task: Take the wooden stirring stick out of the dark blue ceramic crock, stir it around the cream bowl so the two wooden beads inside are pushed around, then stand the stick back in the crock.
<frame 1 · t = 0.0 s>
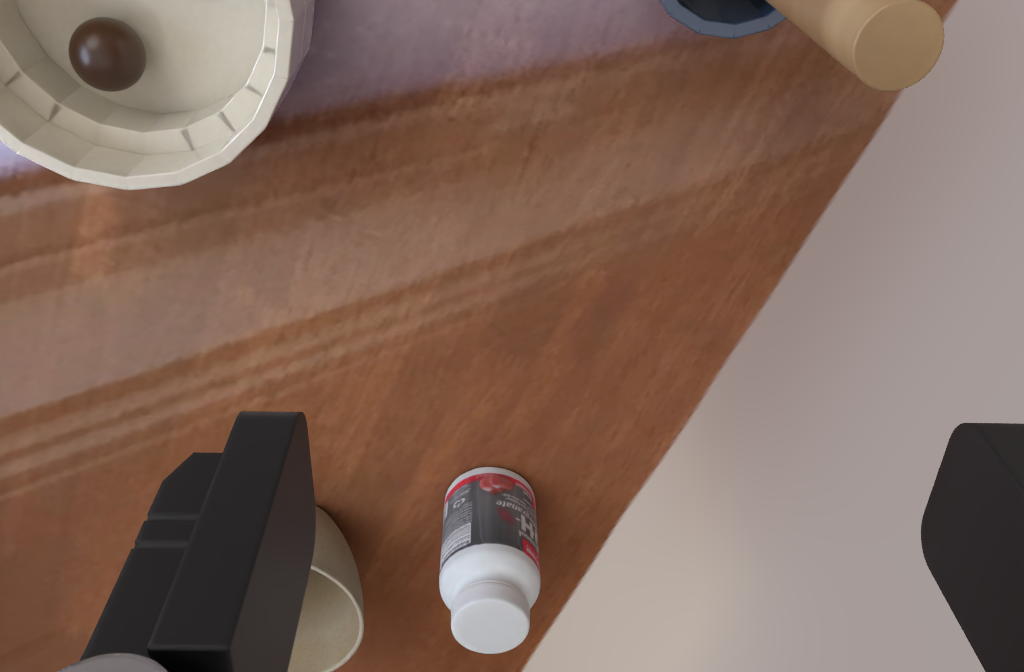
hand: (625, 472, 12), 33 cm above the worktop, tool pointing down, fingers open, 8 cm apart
beige cup: (294, 528, 56), on the worktop
pill bottle: (489, 496, 55), on the worktop
bead a: (120, 45, 40), point 1 cm above the worktop, touching bowl
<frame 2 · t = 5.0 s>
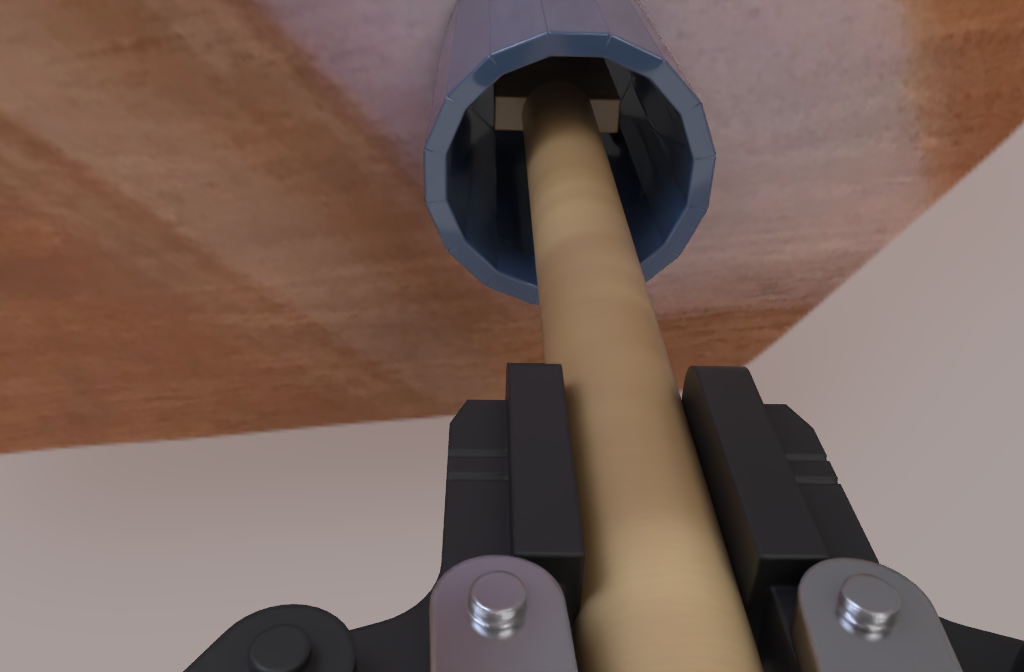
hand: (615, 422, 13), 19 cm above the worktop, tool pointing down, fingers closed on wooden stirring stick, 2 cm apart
crock: (545, 57, 29), on the worktop
wooden stirring stick: (546, 62, 28), point 1 cm above the worktop, touching crock, gripper
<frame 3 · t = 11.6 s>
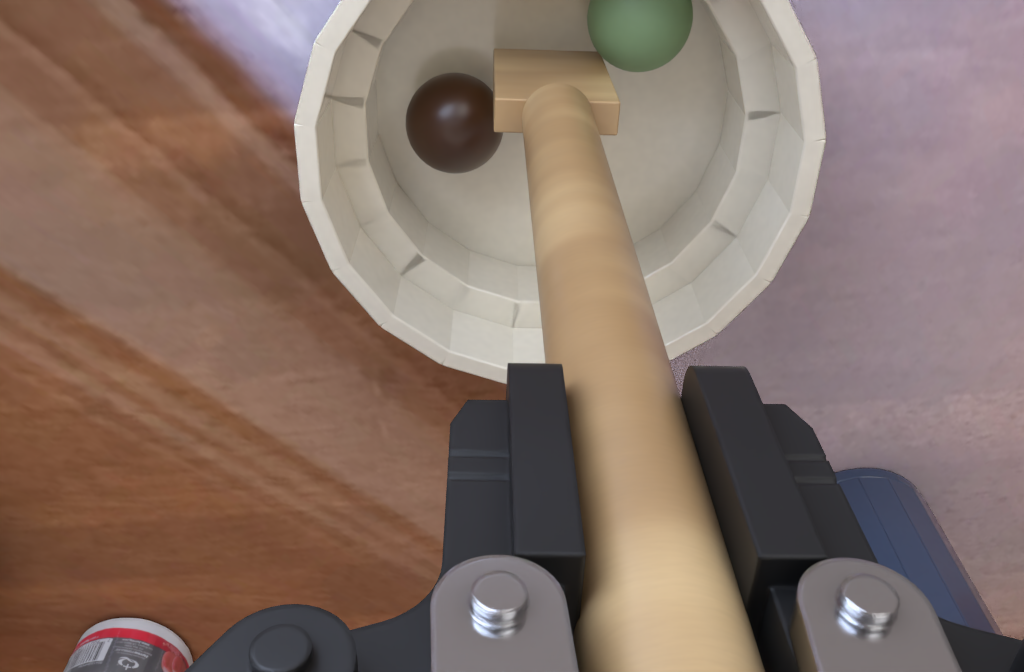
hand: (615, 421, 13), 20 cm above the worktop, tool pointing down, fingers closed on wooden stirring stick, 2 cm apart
crock: (850, 523, 40), on the worktop
wooden stirring stick: (546, 64, 28), point 2 cm above the worktop, touching bead b, gripper
bead b: (588, 31, 27), point 2 cm above the worktop, tilted 89°, touching bowl, wooden stirring stick
pill bottle: (139, 648, 44), on the worktop
bead a: (457, 108, 30), point 1 cm above the worktop, touching bowl
bowl: (550, 103, 30), on the worktop
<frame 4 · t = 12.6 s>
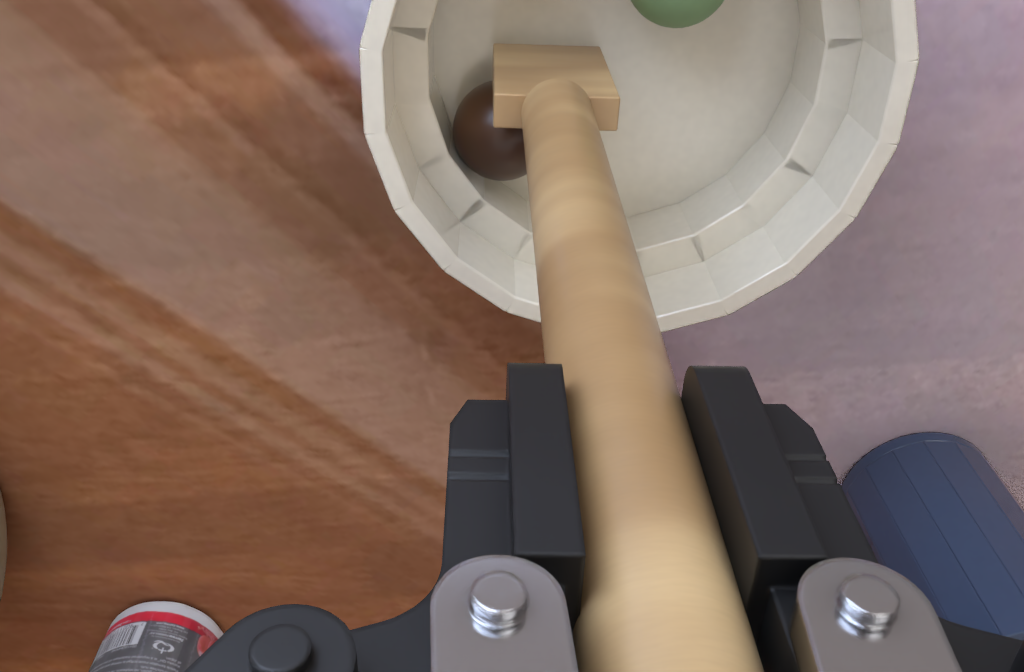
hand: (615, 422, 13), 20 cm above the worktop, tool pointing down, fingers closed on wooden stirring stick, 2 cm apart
crock: (913, 491, 39), on the worktop
wooden stirring stick: (545, 59, 28), point 1 cm above the worktop, touching bead a, gripper
pill bottle: (172, 634, 43), on the worktop
bead a: (516, 81, 28), point 2 cm above the worktop, tilted 81°, touching wooden stirring stick
bowl: (612, 42, 29), on the worktop
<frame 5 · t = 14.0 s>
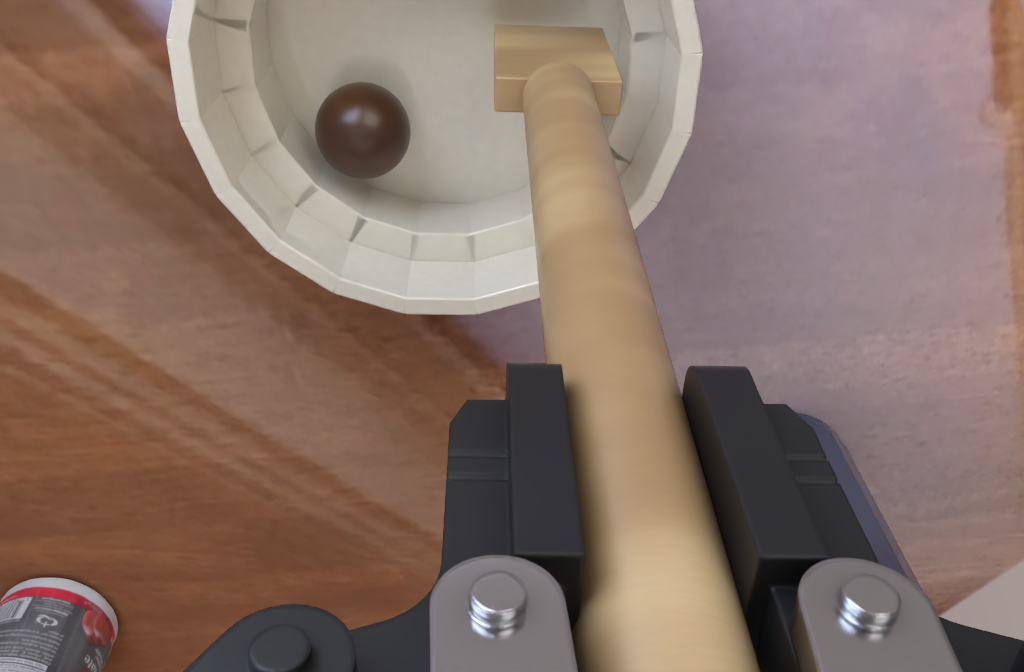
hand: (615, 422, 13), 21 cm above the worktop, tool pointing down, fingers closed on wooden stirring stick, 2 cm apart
crock: (772, 470, 40), on the worktop
wooden stirring stick: (547, 40, 28), point 3 cm above the worktop, touching gripper
pill bottle: (64, 610, 44), on the worktop
bead a: (387, 90, 30), point 2 cm above the worktop, tilted 65°, touching bowl
bowl: (445, 34, 30), on the worktop
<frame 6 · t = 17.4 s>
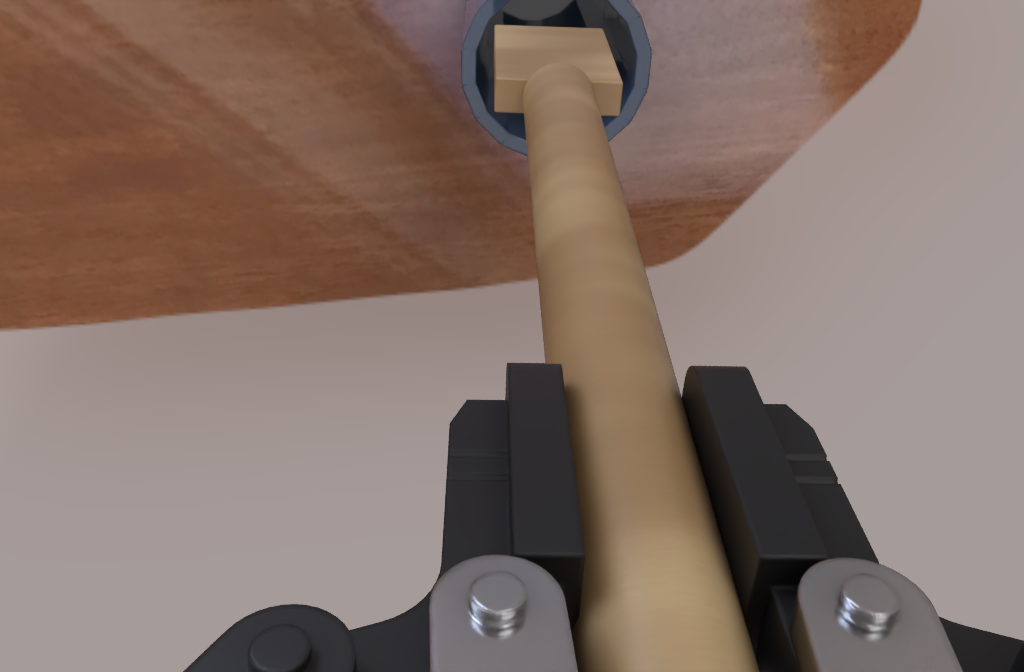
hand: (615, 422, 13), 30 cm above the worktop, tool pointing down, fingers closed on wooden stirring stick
crock: (541, 3, 39), on the worktop
wooden stirring stick: (548, 41, 28), point 12 cm above the worktop, touching gripper
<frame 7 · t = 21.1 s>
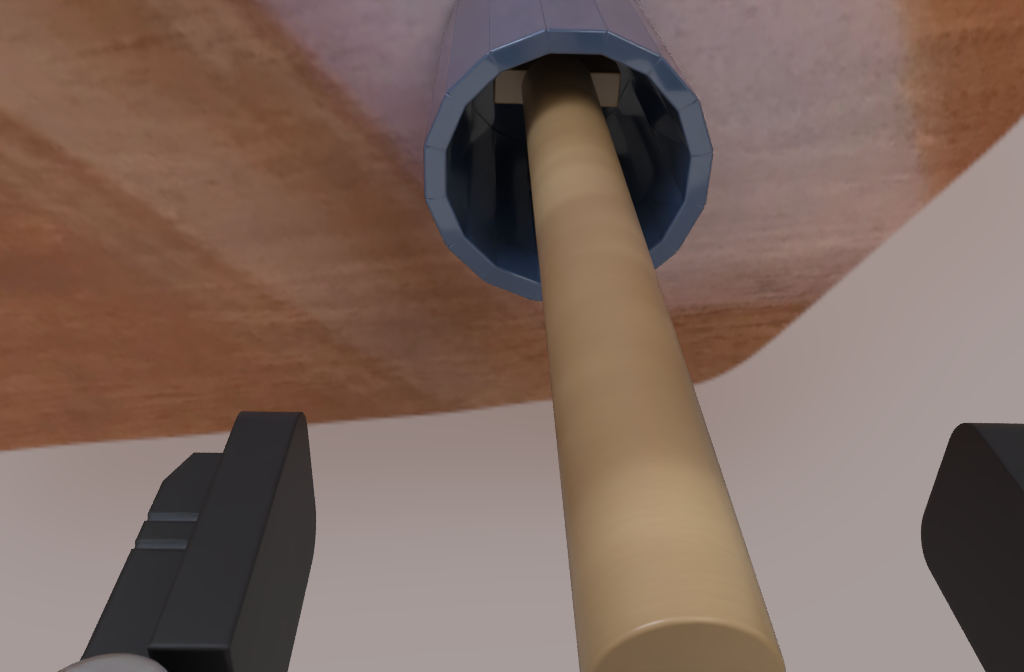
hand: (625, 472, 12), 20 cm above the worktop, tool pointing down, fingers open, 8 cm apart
crock: (544, 55, 29), on the worktop
wooden stirring stick: (546, 39, 28), point 1 cm above the worktop, touching crock
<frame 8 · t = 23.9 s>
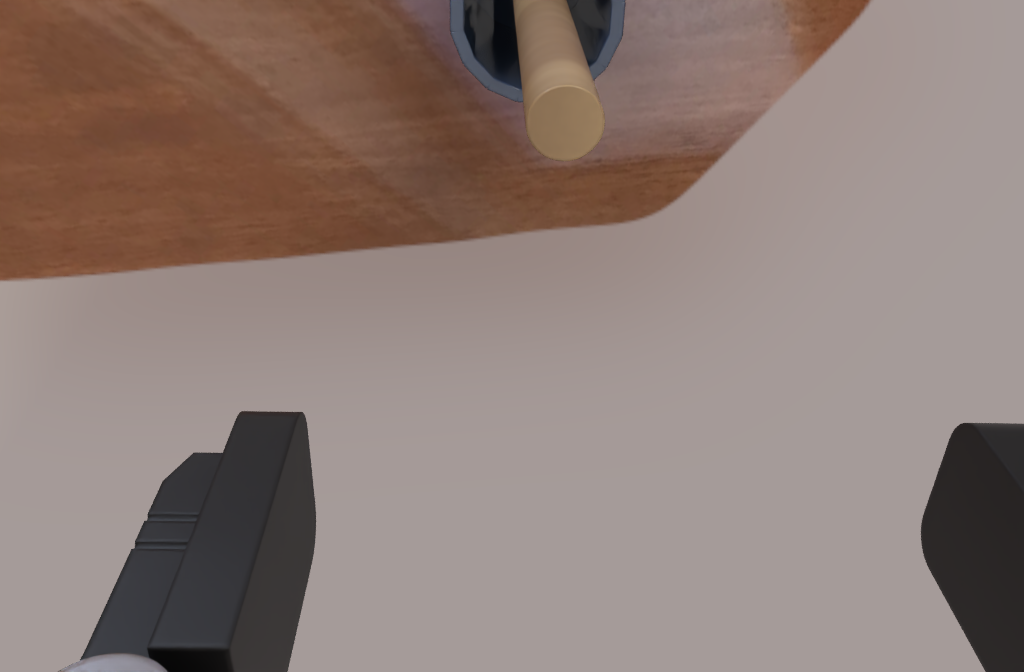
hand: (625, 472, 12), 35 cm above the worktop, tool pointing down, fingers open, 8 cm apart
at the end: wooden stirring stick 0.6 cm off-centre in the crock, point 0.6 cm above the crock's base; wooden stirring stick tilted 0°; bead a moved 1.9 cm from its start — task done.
